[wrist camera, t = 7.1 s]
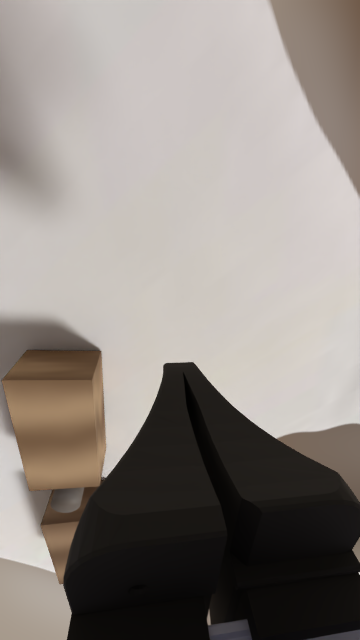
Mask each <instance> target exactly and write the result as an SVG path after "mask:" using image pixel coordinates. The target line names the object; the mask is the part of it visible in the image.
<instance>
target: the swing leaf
mask: <svg viewBox="0 0 360 640" xmlns="http://www.w3.org/2000/svg"><path fill="white" fill-rule="evenodd" d="M2 384H3V388H4V392H5V396H6V400H7V404H8V408H9V412H10V416H11V420H12V424H13V428H14V431H15V435H16V439H17V443H18V447H19V451H20V455H21V459H22V463H23V467H24V471H25V475H26V479H27V483H28V487H29V491H35V490H50V489H55V491H54V494H53V497H52V500H51V503H50V505H51V508H52V509H53V510H55V511H57V512H61V513H69V512H73V511H75V510H77V509H78V508H79V507H80V505H81V500H82V496H83V491H84V487H97V486H100V481H101V475H102V469H103V464H104V458H105V452H106V436H105V417H104V397H103V377H102V357H101V351H49V350H27V351H26V352H25V353H24V354H23V356H22V357H21V358H20V359H19V360H18V362H17V363H16V364H15V365H14V366H13V368H12V369H11V370H10V371H9V372H8V374H7V375H6V376H5V377H4V378H3V380H2Z"/></svg>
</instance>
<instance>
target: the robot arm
mask: <svg viewBox="0 0 360 640" xmlns="http://www.w3.org/2000/svg"><path fill="white" fill-rule="evenodd" d="M359 537H360V502H359V501H358V499H357V498H356V496H355V495H354V493H353V492H352V490H351V489H350V488H349V486H348V485H347V484H346V482H345V481H344V480H343V479H342V477H341V476H340V475H339V474H338V473H337V472H336V471H334V470H332V469H330V468H328V467H326V466H324V465H322V464H320V463H318V462H316V461H314V460H312V459H310V458H308V457H306V456H304V455H302V454H301V453H299V452H297V451H295V450H294V449H292V448H290V447H289V446H287V445H285V444H284V443H282V442H280V441H278V440H277V439H276V438H274V437H273V436H271V435H270V434H268V433H267V432H265V431H264V430H262V429H261V428H259V427H258V426H257V425H255V424H254V423H253V422H251V421H250V420H249V419H248V418H246V417H245V416H244V415H243V414H241V413H240V412H239V411H238V410H237V409H236V408H234V407H233V406H232V405H231V404H230V403H229V402H228V401H227V400H226V399H225V398H224V397H223V396H222V395H221V394H220V393H219V392H218V391H217V390H216V389H215V387H214V386H213V385H212V384H211V383H210V382H209V381H208V380H207V378H206V377H205V376H204V375H203V373H202V372H201V371H200V370H199V368H198V367H197V366H196V365H195V364H194V363H193V362H187V363H166V364H165V365H163V378H162V382H161V385H160V388H159V391H158V394H157V397H156V399H155V402H154V404H153V406H152V409H151V411H150V413H149V415H148V417H147V419H146V421H145V423H144V424H143V426H142V428H141V430H140V431H139V433H138V435H137V436H136V438H135V440H134V441H133V443H132V444H131V446H130V447H129V449H128V450H127V451H126V453H125V454H124V455H123V457H122V458H121V460H120V461H119V462H118V464H117V465H116V466H115V468H114V469H113V470H112V471H111V473H110V474H109V475H108V476H107V477H106V479H105V480H104V481H103V482H102V483H101V484H100V486H99V487H98V488H97V489H96V490H95V491H94V493H93V494H92V495H91V496H90V498H89V500H88V502H87V504H86V507H85V509H84V511H83V513H82V516H81V518H80V521H79V523H78V525H77V528H76V531H75V534H74V537H73V540H72V543H71V546H70V550H69V554H68V559H67V563H66V568H65V572H64V577H63V586H64V589H65V592H66V596H67V599H68V602H69V605H70V608H71V612H72V615H71V621H70V626H69V631H68V637H67V640H360V575H359V573H358V572H360V563H359V561H358V559H357V558H356V556H355V554H354V552H353V551H352V549H353V547H354V545H355V544H356V542H357V540H358V539H359ZM208 612H210V621H211V625H208V623H207V617H208Z"/></svg>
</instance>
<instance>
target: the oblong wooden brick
mask: <svg viewBox="0 0 360 640" xmlns="http://www.w3.org/2000/svg"><path fill="white" fill-rule="evenodd" d="M103 481H104V480H101V481H100V484H101V483H102V482H103ZM98 487H99V486H97V487H84V491H83V496H82V500H81V505H80V507H79V508H78V509H77V510H75V511H73V512H69V513H61V512H57V511H55V510H53V509H52V508H51V505H50V503H51V500H52V497H53V494H54V491H55V489H53V490H52V493H51V496H50V499H49V502H48V505H47V508H46V511H45V514H44V517H43V520H42V523H41V528H42V531H43V534H44V537H45V541H46V544H47V547H48V550H49V553H50V556H51V559H52V562H53V565H54V568H55V571H56V574H57V577H58V581H59V584H63V577H64V572H65V568H66V563H67V559H68V554H69V550H70V546H71V543H72V540H73V537H74V534H75V531H76V528H77V525H78V523H79V521H80V518H81V516H82V513H83V511H84V509H85V507H86V504H87V502H88V500H89V498H90V496H91V495H92V494H93V493H94V491H95V490H96V489H97V488H98Z"/></svg>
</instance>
